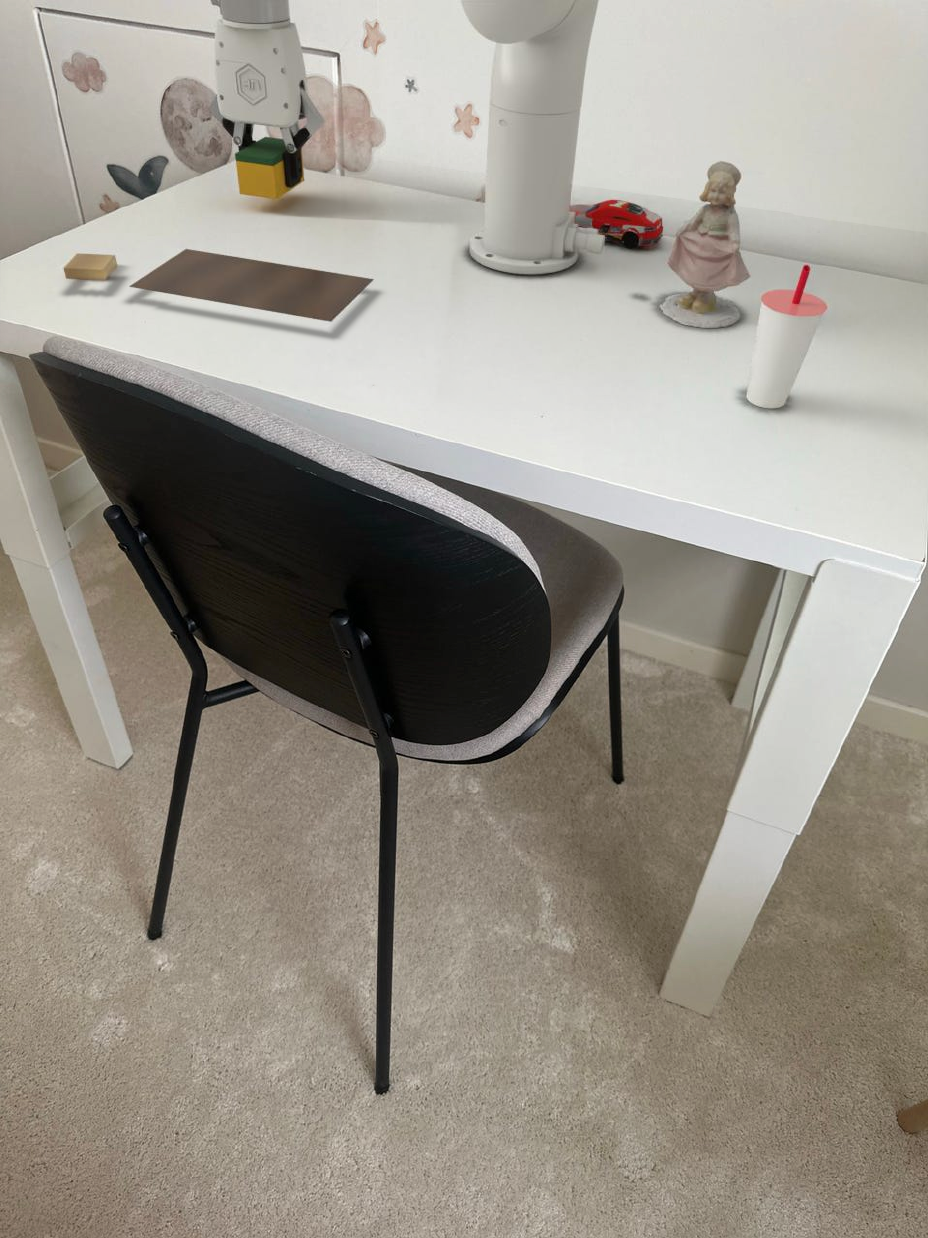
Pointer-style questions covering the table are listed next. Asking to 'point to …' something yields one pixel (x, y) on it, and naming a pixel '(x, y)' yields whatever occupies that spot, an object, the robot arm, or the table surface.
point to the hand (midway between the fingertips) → (272, 179)
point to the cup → (782, 342)
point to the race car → (620, 222)
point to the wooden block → (90, 266)
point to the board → (255, 284)
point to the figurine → (709, 255)
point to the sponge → (263, 169)
